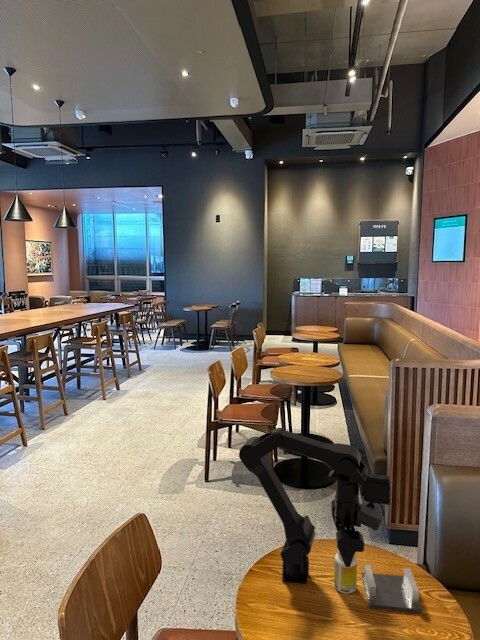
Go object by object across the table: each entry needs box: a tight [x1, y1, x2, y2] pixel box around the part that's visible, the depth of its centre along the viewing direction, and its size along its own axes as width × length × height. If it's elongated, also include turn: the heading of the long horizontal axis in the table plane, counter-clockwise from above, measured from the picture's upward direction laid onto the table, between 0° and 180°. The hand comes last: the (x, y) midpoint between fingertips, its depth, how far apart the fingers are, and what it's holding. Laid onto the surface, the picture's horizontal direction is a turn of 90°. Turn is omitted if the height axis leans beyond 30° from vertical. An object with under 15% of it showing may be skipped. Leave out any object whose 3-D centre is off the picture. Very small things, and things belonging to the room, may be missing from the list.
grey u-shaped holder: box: [361, 564, 422, 614], centre depth 108 cm, size 11×12×4 cm
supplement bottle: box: [333, 549, 358, 595], centre depth 110 cm, size 6×6×10 cm
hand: (345, 554), depth 110 cm, fingers open, 9 cm apart
